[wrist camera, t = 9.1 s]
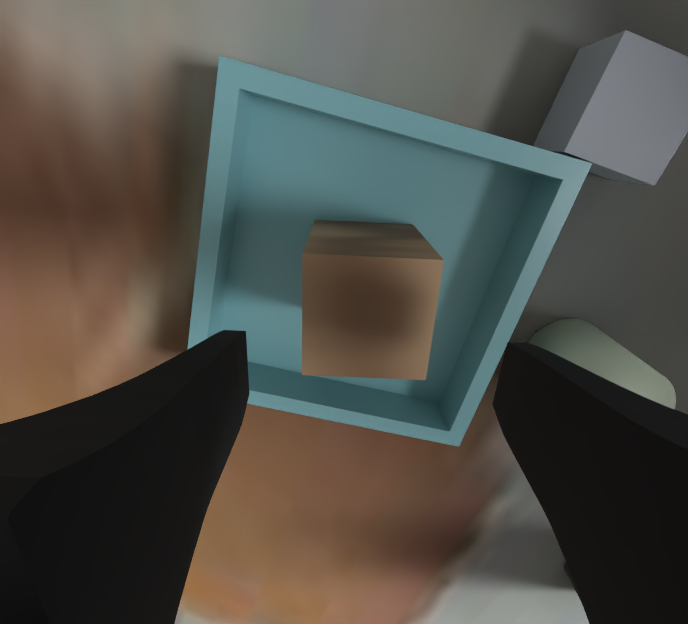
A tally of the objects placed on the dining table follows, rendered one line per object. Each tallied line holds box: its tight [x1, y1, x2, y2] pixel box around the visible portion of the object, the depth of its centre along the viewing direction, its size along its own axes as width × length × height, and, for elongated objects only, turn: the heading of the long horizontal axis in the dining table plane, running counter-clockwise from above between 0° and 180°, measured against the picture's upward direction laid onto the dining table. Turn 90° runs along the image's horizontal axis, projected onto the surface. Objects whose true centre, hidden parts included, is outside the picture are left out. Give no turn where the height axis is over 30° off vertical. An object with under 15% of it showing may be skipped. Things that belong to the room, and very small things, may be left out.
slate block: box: [533, 30, 688, 186], centre depth 16 cm, size 4×4×3 cm
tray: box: [187, 56, 592, 447], centre depth 18 cm, size 14×14×3 cm
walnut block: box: [302, 220, 444, 380], centre depth 16 cm, size 4×4×6 cm
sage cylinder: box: [528, 319, 676, 410], centre depth 19 cm, size 4×4×5 cm
